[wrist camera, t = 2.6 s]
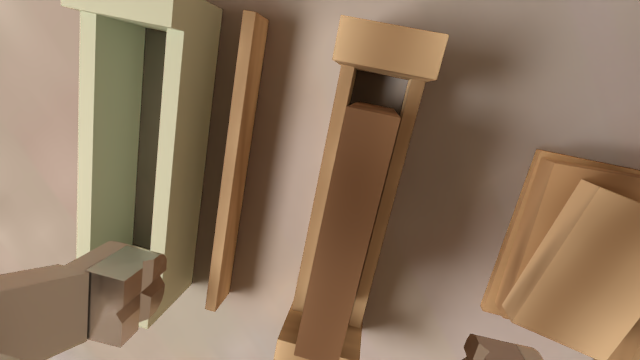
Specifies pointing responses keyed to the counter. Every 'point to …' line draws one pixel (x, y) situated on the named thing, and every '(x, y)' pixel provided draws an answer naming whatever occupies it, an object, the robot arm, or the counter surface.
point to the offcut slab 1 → (506, 247)
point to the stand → (124, 123)
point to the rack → (331, 158)
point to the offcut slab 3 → (584, 275)
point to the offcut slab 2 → (555, 209)
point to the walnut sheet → (346, 228)
